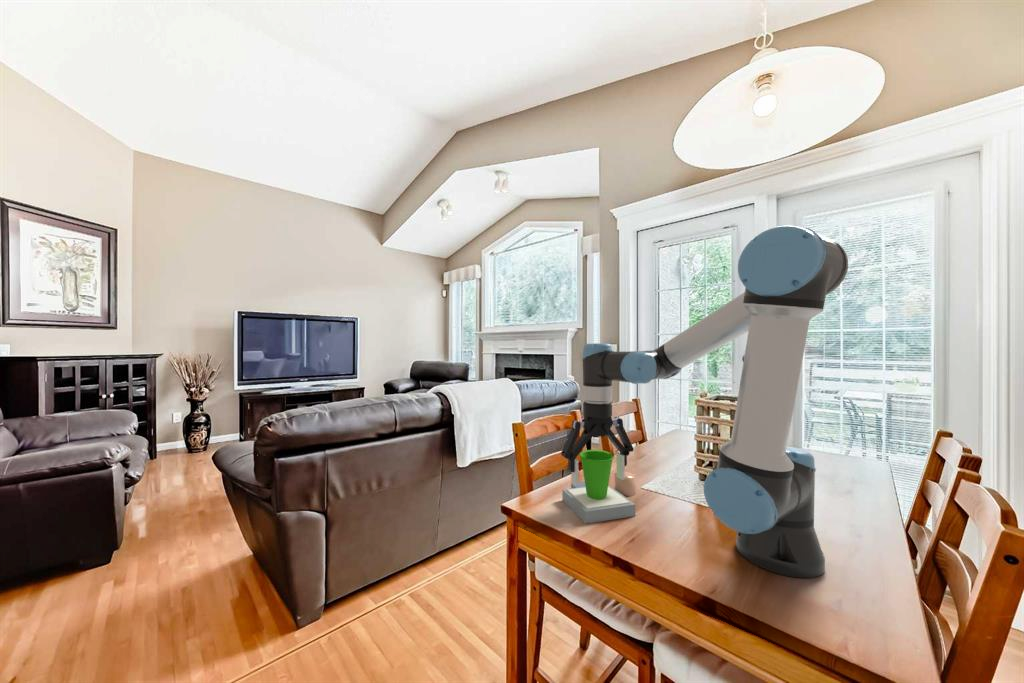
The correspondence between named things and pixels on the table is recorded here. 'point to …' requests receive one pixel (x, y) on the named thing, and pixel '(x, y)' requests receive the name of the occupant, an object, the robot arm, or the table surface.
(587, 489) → the cup
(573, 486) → the book
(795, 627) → the table surface
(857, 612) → the table surface
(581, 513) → the podium
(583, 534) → the table surface
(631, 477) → the beige rounded block
